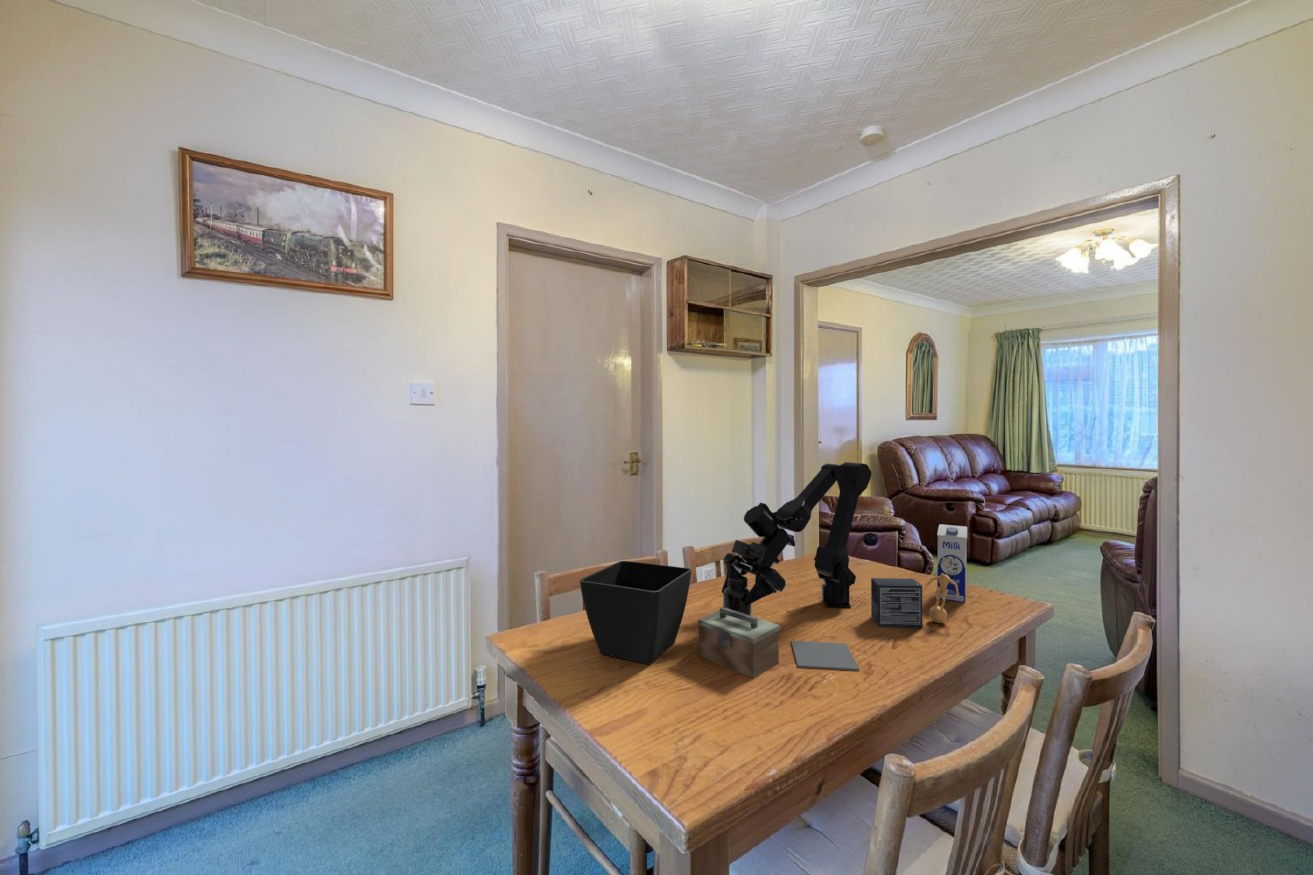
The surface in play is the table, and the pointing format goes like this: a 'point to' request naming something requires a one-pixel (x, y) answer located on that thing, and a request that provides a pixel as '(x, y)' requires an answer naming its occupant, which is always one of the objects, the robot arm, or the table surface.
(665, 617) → the flower pot
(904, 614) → the small box
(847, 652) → the mat
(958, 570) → the milk carton
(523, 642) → the table surface
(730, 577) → the supplement bottle
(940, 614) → the figurine
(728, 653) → the toolbox
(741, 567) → the robot arm
